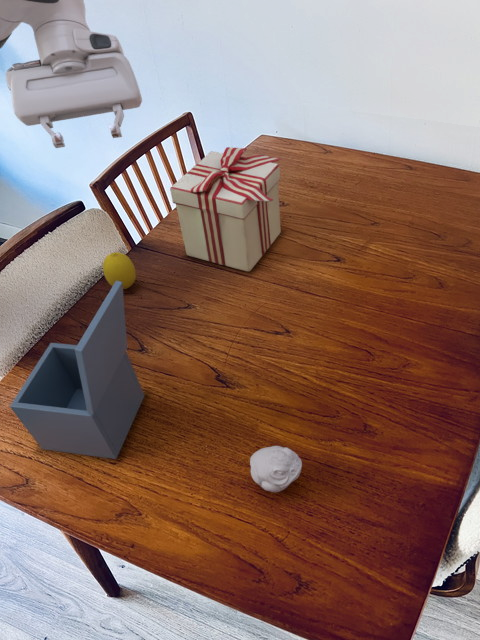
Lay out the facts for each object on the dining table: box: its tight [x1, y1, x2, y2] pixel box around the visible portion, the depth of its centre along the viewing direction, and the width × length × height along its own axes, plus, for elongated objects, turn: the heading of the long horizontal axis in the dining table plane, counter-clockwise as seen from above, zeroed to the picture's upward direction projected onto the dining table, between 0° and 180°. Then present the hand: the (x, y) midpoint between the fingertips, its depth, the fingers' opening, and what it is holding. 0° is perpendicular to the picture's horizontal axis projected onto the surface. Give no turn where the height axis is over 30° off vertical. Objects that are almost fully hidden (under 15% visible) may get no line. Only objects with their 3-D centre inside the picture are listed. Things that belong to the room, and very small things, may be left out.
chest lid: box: [75, 281, 128, 414], centre depth 64 cm, size 12×12×1 cm
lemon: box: [102, 251, 137, 290], centre depth 95 cm, size 6×6×8 cm
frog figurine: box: [249, 445, 303, 493], centre depth 66 cm, size 6×7×7 cm
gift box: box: [169, 146, 283, 273], centre depth 98 cm, size 17×18×17 cm
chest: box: [9, 342, 145, 460], centre depth 74 cm, size 12×12×10 cm
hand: (88, 141), depth 86 cm, fingers open, 8 cm apart
